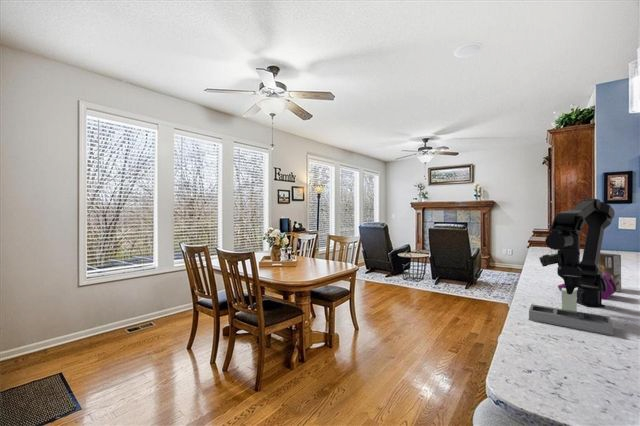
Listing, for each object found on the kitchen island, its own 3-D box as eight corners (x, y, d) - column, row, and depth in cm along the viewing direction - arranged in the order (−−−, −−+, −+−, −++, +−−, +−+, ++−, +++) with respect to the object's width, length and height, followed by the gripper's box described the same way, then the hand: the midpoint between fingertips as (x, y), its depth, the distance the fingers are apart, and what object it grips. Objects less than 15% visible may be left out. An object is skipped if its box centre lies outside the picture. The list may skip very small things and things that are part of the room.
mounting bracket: (565, 306, 129) (617, 296, 116) (554, 287, 132) (604, 276, 119) (571, 302, 135) (621, 292, 122) (561, 283, 138) (609, 272, 125)
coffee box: (622, 290, 131) (622, 254, 131) (614, 292, 129) (614, 255, 129) (596, 285, 140) (596, 252, 140) (588, 287, 138) (588, 252, 137)
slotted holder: (609, 326, 92) (609, 316, 92) (613, 335, 86) (613, 325, 85) (531, 312, 105) (531, 304, 105) (528, 319, 98) (528, 310, 98)
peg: (561, 309, 108) (561, 287, 108) (576, 311, 106) (576, 289, 105) (561, 312, 105) (561, 290, 105) (576, 314, 102) (576, 292, 102)
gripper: (542, 243, 117) (542, 282, 118) (539, 248, 103) (539, 293, 103) (579, 245, 110) (579, 287, 110) (581, 251, 96) (581, 299, 96)
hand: (569, 291), depth 105 cm, fingers open, 9 cm apart
